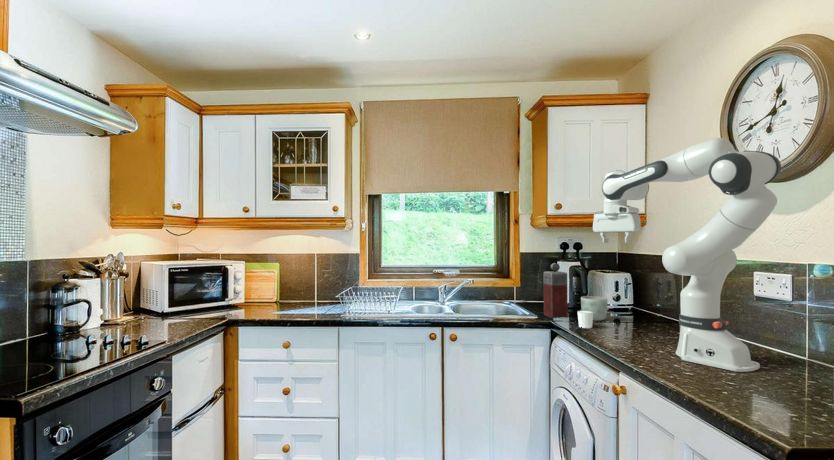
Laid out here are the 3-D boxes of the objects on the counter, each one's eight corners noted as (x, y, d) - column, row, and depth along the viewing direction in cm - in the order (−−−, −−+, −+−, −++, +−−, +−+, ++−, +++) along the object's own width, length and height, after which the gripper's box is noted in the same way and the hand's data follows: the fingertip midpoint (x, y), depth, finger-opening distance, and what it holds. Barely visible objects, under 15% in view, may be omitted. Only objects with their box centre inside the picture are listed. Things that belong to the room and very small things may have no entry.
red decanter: (556, 313, 214) (556, 262, 215) (567, 317, 203) (567, 263, 204) (541, 313, 213) (541, 262, 213) (551, 317, 201) (551, 263, 202)
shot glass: (595, 328, 177) (595, 313, 177) (580, 328, 178) (580, 313, 178) (590, 325, 184) (590, 310, 184) (575, 325, 184) (575, 310, 185)
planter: (609, 318, 200) (609, 297, 200) (605, 322, 190) (604, 300, 190) (584, 316, 207) (584, 295, 207) (578, 319, 197) (578, 298, 197)
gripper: (589, 211, 172) (589, 242, 172) (632, 207, 154) (633, 243, 153) (599, 211, 175) (599, 242, 174) (642, 208, 156) (643, 243, 156)
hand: (615, 242), depth 164 cm, fingers open, 8 cm apart
